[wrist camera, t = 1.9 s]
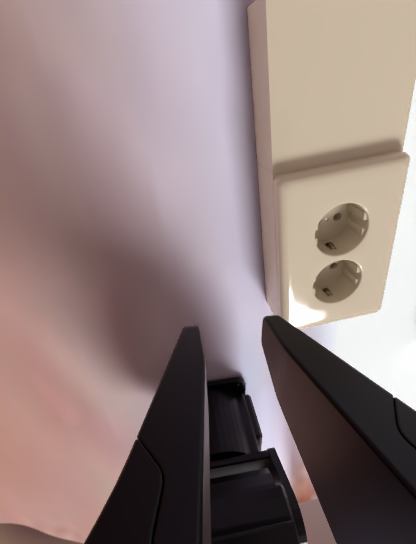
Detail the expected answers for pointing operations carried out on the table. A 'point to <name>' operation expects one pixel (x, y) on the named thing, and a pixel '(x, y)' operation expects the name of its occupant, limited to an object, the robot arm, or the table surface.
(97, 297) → the table surface
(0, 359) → the table surface
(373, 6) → the electrical outlet
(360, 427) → the robot arm
